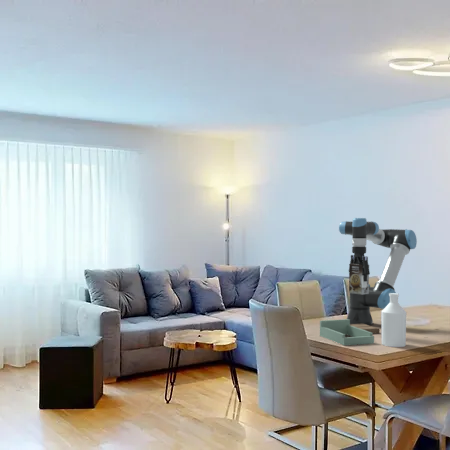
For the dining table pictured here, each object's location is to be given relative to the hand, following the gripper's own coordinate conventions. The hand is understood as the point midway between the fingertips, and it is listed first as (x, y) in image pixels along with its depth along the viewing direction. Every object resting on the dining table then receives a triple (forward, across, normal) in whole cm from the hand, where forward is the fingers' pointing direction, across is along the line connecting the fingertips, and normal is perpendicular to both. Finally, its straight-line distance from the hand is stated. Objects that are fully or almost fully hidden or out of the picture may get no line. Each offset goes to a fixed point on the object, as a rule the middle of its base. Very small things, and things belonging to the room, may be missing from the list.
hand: (358, 286), depth 325 cm
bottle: (+25, +35, -2) cm, 43 cm away
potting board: (+25, 0, 0) cm, 25 cm away
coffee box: (+4, 0, 0) cm, 4 cm away
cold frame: (+25, +18, -18) cm, 35 cm away
